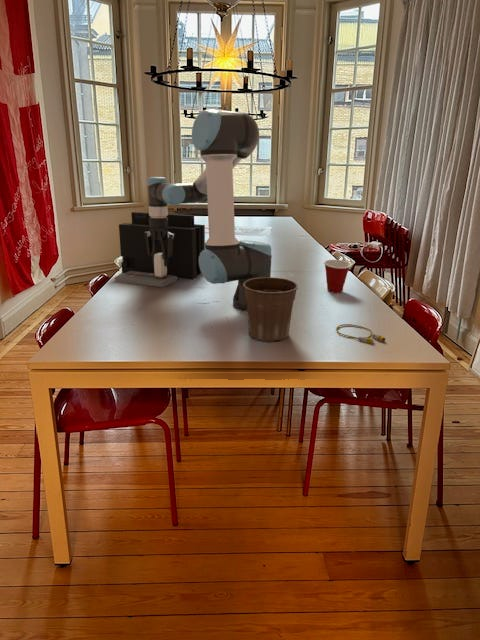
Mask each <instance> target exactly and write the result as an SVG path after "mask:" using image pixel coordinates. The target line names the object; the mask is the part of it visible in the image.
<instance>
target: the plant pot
mask: <svg viewBox="0 0 480 640" xmlns="http://www.w3.org/2000/svg"><path fill="white" fill-rule="evenodd" d="M243 286H244V288H245V296H246V299H247V310H246V311H247V320H248V321H247V324H248V335H249V336H251V338H252V339H255V340H257V341H260V340H261V341H260V342H267V341H268V343H269V342H270V343H271V342H275V341H279V342H281V341H284V340H285V339H287V338H288V337H289V332H290V326H291V318H292V313H293V312H292V311H293V307H294V301H295V299H296V294H297V290H298V289H299V284H298V283H297V282H295V281H294V280H290V279H287V278H281V277H271V276H270V277H260V278H253V279H249V280H247V281H245V282H244V283H243ZM280 340H281V341H280Z"/></svg>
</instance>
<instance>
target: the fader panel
mask: <svg viewBox="0 0 480 640" xmlns="http://www.w3.org/2000/svg"><path fill="white" fill-rule="evenodd" d="M154 276H155V274H154V273H145V272H137V271H129V272H126V273H121V274H118V275H117V276H114V280H115V282H116V283H123V284H124V283H126V284H131V285H132V284H133V285H141V286H148V285H149V287H156V286H157V287H158V288H164V287H165V288H166V287H167V286H169V285H171V284H173V283H175V282H177V281H176V280H178V278H177V276H172V275H167V276H166V277H164V278H162V279H158V278H154ZM174 281H175V282H174ZM172 282H173V283H172Z"/></svg>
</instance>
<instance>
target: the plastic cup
mask: <svg viewBox="0 0 480 640" xmlns="http://www.w3.org/2000/svg"><path fill="white" fill-rule="evenodd" d="M323 264H324V268H325V269H324V270H325V277H326V278H325V280H326V287H327V288H326V289H327V292H328V293H332V294H341V293H342V292H343V290H344V286H345V283H346V279H347V276H348V273H349V270H350V268H351V267H352V264H351V262H348V261H345V260H340V259H327V260H324V261H323Z"/></svg>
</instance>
